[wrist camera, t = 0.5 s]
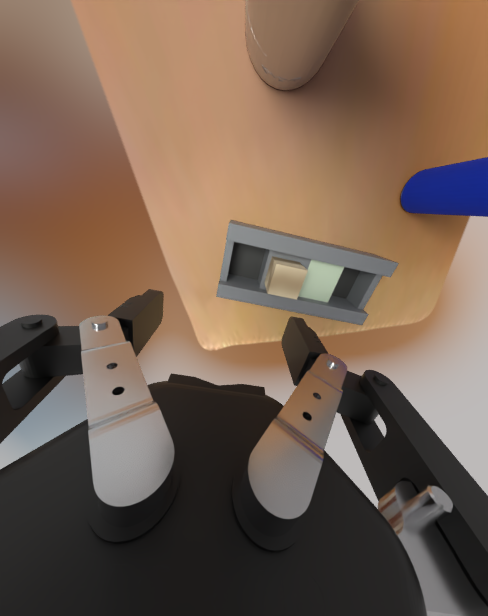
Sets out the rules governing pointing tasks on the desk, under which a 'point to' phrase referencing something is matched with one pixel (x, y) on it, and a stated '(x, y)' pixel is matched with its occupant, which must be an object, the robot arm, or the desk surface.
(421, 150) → the desk surface
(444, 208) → the blue cylinder
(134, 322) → the robot arm
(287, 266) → the birch block
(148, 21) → the desk surface
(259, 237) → the box
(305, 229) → the desk surface
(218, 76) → the desk surface
